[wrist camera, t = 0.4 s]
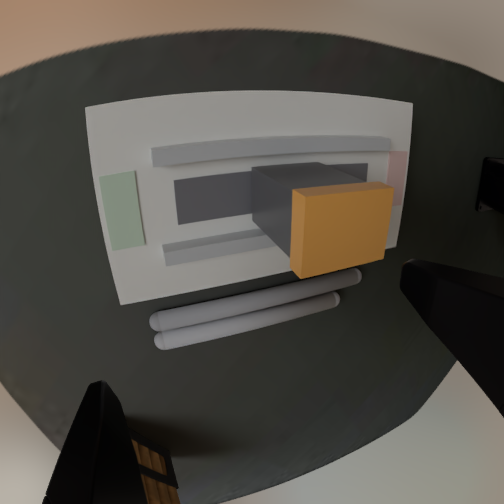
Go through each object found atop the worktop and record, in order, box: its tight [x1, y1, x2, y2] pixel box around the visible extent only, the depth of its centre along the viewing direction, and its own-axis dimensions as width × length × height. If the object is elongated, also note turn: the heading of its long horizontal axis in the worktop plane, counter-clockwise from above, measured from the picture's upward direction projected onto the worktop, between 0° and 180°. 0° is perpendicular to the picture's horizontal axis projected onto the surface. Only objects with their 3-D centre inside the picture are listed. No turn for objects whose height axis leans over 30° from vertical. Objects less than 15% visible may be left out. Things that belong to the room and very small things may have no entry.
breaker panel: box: [85, 91, 413, 305], centre depth 19 cm, size 20×11×4 cm, turn 91°
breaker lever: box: [251, 162, 394, 279], centre depth 15 cm, size 4×3×6 cm
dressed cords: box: [149, 268, 362, 350], centre depth 25 cm, size 17×3×1 cm, turn 91°
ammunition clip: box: [128, 428, 180, 504], centre depth 23 cm, size 11×2×12 cm, turn 26°
